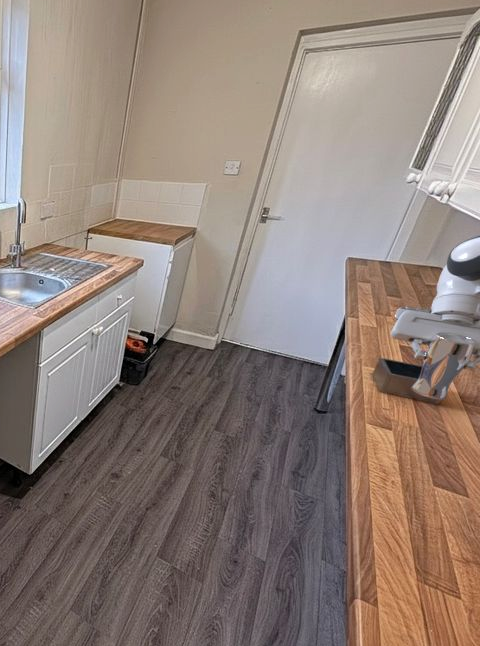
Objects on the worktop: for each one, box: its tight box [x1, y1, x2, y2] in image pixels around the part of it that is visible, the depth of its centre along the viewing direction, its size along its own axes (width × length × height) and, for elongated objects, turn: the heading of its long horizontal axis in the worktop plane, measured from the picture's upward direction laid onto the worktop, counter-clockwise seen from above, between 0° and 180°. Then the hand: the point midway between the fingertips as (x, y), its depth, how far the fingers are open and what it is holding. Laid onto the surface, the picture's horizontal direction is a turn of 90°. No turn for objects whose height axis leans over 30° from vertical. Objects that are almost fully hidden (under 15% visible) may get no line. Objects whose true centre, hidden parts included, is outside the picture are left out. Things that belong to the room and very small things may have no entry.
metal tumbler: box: [411, 332, 477, 400], centre depth 99 cm, size 7×7×15 cm
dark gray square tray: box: [372, 357, 442, 405], centre depth 116 cm, size 12×12×6 cm
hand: (443, 363), depth 98 cm, fingers closed on metal tumbler, 7 cm apart
